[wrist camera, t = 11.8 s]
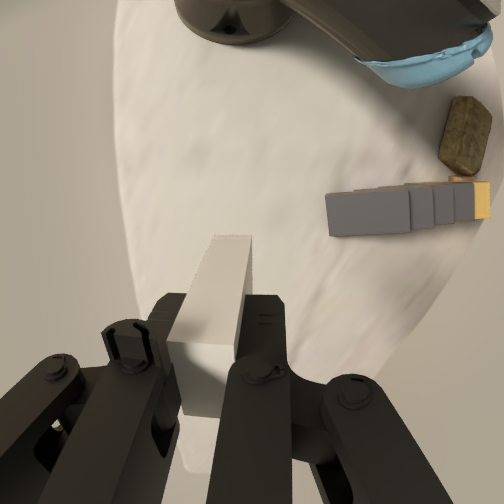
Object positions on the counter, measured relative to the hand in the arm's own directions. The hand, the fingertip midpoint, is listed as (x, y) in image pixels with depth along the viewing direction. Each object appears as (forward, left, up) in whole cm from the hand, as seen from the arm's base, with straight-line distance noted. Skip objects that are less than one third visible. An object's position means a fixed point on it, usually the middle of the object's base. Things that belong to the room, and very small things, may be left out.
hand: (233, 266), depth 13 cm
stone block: (+13, +33, -25) cm, 43 cm away
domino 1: (+9, +9, -24) cm, 27 cm away
